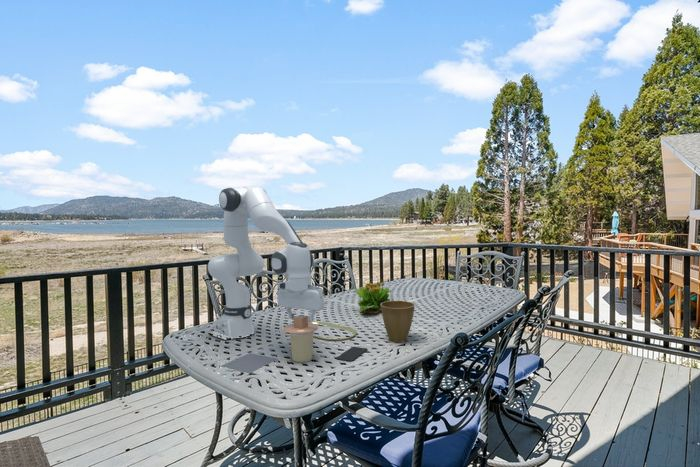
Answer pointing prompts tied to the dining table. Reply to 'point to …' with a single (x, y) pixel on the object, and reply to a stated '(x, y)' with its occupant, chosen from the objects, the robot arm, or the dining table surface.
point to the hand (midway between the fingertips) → (301, 319)
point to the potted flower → (372, 297)
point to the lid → (300, 326)
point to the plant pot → (397, 319)
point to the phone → (352, 354)
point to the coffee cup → (302, 347)
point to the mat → (249, 362)
